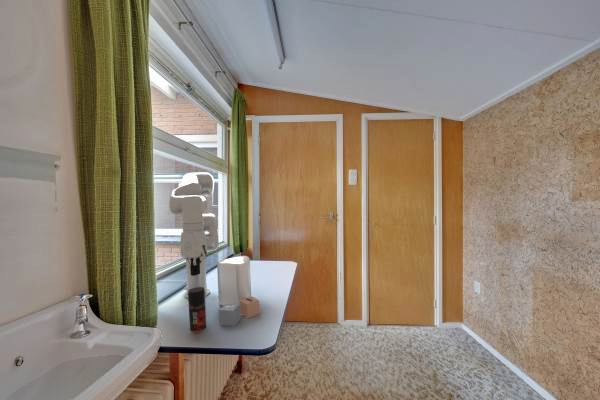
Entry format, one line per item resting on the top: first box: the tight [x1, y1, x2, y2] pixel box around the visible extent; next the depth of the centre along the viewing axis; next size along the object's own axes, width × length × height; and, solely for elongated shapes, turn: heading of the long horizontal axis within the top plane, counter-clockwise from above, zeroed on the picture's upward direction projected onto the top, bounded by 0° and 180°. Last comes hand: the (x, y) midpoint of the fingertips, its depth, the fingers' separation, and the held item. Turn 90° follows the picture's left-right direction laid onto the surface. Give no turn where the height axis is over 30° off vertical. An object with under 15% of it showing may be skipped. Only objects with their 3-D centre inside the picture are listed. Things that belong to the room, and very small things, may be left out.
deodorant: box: [188, 287, 207, 333], centre depth 103 cm, size 6×6×15 cm
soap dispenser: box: [216, 255, 252, 307], centre depth 126 cm, size 15×14×22 cm
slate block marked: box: [218, 304, 241, 327], centre depth 107 cm, size 6×6×6 cm
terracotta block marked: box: [240, 295, 261, 319], centre depth 114 cm, size 6×6×6 cm
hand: (195, 274), depth 102 cm, fingers closed
